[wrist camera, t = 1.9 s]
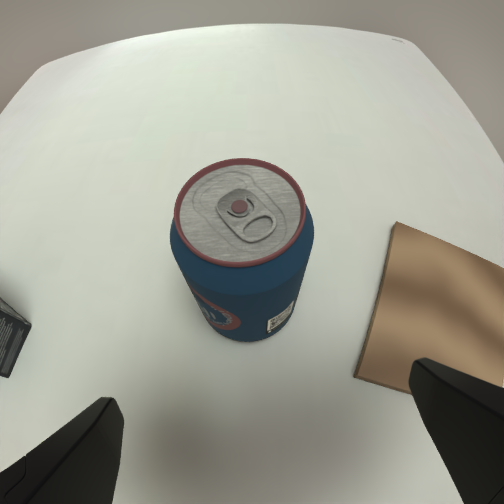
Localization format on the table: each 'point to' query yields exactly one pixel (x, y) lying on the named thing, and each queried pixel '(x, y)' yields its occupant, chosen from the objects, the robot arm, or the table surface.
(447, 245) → the coaster board
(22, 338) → the small box
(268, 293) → the soda can
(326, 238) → the table surface
